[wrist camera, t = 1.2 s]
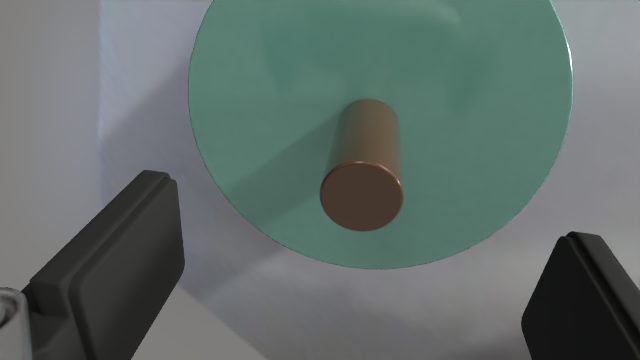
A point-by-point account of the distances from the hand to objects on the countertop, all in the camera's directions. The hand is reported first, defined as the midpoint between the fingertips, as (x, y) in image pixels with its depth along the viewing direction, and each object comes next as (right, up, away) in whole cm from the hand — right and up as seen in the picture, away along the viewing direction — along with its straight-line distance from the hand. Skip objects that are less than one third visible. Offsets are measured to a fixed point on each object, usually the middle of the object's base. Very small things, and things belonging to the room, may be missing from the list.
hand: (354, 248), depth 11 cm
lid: (+1, +4, +6) cm, 7 cm away
